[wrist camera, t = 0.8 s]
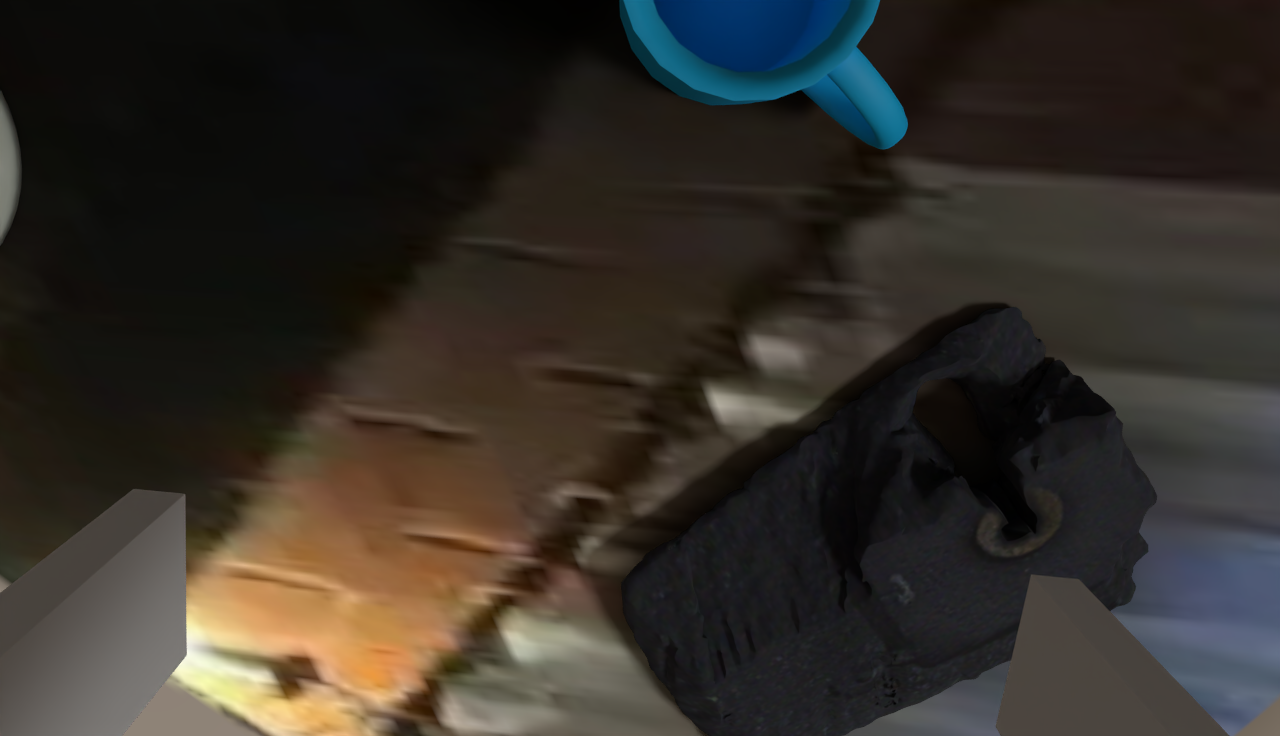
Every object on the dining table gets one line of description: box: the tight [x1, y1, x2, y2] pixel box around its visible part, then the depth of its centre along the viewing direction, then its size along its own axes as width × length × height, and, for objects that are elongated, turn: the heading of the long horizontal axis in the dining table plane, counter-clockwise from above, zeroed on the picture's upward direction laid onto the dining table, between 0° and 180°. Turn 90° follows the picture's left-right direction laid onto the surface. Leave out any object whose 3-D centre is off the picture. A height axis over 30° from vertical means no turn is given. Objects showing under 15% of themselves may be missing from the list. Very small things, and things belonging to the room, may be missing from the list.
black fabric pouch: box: [621, 307, 1157, 736], centre depth 41 cm, size 15×22×5 cm
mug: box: [619, 0, 908, 149], centre depth 34 cm, size 12×8×8 cm
